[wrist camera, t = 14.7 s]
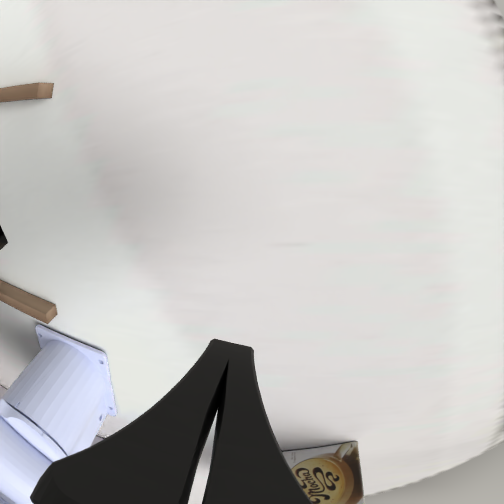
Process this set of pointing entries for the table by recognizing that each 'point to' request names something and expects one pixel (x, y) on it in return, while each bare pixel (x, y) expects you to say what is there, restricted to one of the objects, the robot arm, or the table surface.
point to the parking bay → (3, 290)
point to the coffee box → (329, 473)
